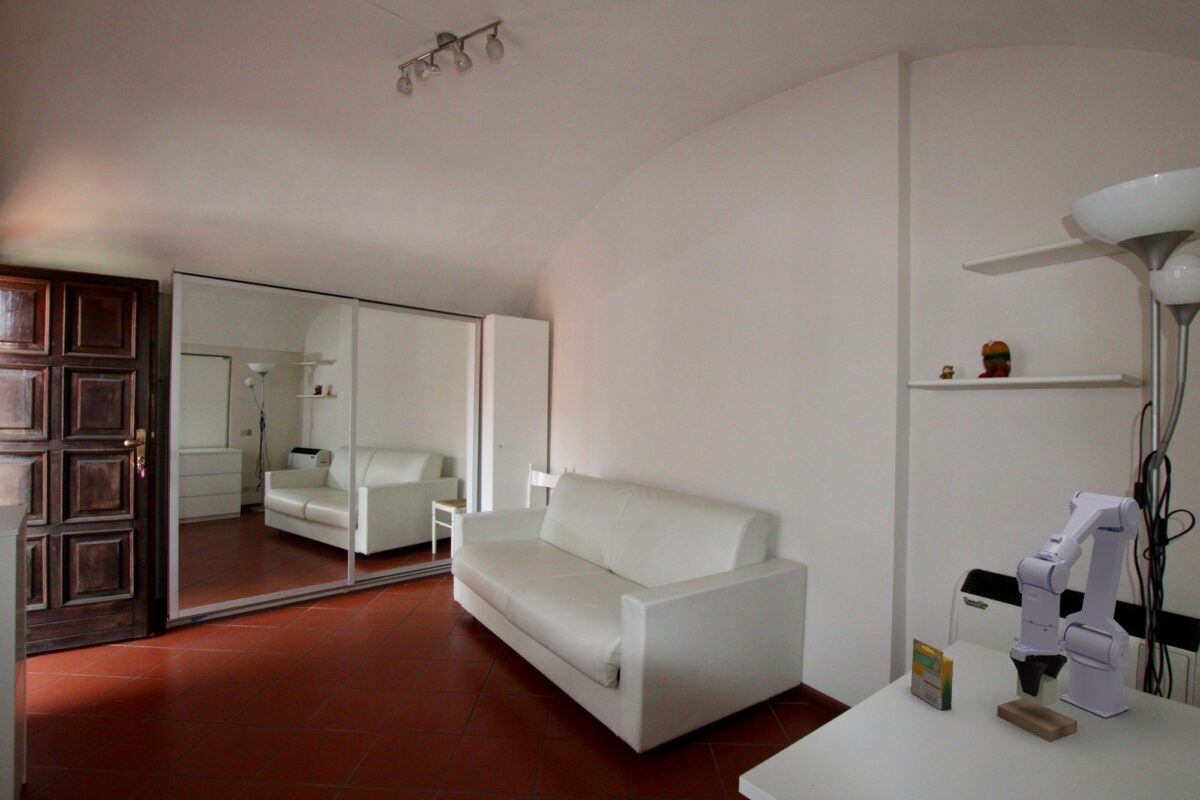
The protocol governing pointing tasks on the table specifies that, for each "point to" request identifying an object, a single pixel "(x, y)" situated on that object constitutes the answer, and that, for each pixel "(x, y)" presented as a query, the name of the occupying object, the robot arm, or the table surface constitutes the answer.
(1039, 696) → the sage cube
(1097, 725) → the table surface
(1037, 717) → the walnut base block
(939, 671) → the crayon box
